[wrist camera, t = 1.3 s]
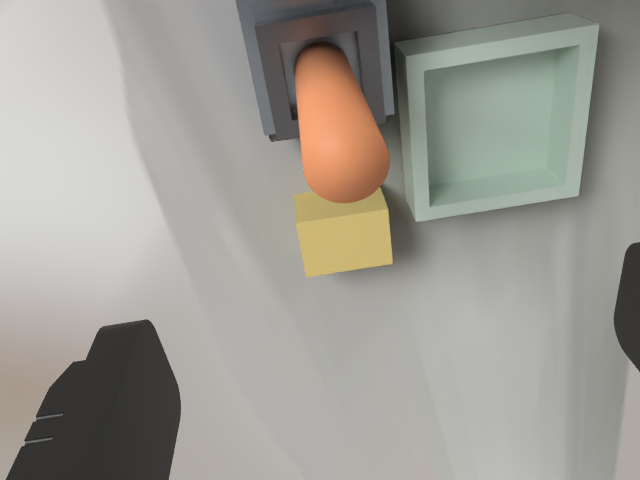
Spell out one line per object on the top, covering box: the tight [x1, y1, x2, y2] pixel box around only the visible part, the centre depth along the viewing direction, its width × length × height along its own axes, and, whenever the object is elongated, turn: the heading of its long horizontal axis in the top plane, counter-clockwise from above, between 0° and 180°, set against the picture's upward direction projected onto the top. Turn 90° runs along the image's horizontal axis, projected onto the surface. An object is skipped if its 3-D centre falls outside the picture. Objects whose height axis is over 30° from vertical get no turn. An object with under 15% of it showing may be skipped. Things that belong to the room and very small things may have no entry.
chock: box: [294, 187, 393, 277], centre depth 31 cm, size 4×5×4 cm
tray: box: [394, 13, 600, 222], centre depth 29 cm, size 9×9×3 cm
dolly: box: [236, 0, 395, 142], centre depth 24 cm, size 9×6×8 cm, turn 9°
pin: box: [294, 41, 390, 203], centre depth 19 cm, size 2×2×10 cm
